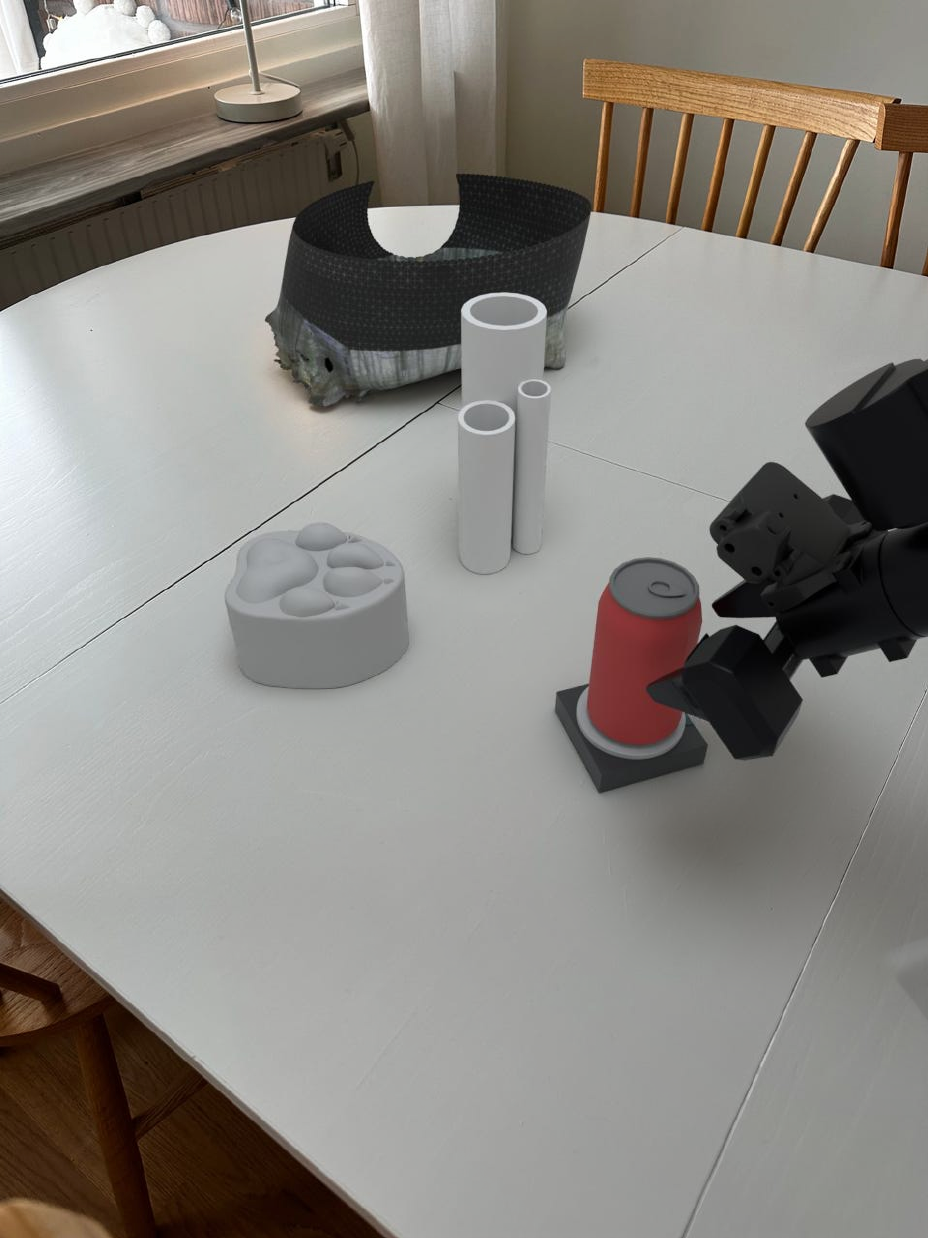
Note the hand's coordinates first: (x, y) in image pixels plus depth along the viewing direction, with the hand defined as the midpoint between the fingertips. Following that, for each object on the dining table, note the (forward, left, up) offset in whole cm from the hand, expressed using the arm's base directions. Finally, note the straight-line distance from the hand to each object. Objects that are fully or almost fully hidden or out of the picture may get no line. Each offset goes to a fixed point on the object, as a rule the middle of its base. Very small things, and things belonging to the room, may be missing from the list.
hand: (684, 649), depth 62 cm
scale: (+3, -1, -10) cm, 11 cm away
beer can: (+3, -1, -8) cm, 8 cm away
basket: (+33, -53, -11) cm, 63 cm away
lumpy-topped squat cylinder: (+27, -5, -11) cm, 29 cm away
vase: (+17, -22, -11) cm, 29 cm away
